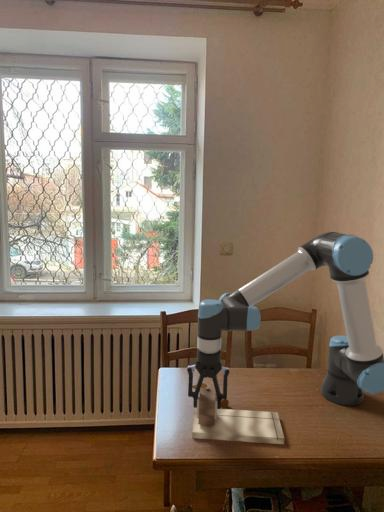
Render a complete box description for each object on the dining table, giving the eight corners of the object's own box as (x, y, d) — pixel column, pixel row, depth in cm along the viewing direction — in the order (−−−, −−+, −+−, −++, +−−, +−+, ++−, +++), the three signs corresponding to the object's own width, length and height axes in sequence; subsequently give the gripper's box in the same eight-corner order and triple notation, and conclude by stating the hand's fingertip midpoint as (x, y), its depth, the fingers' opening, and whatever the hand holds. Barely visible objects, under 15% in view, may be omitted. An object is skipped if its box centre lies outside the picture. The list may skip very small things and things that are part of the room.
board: (277, 417, 130) (277, 412, 130) (283, 444, 117) (284, 438, 116) (194, 412, 132) (195, 407, 132) (192, 438, 118) (192, 432, 118)
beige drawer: (214, 410, 128) (215, 387, 127) (214, 425, 120) (215, 399, 119) (199, 409, 129) (200, 386, 127) (198, 424, 121) (199, 398, 119)
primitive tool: (191, 387, 150) (191, 378, 150) (202, 383, 153) (202, 375, 153) (221, 411, 134) (222, 401, 134) (233, 406, 137) (234, 397, 137)
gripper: (237, 345, 124) (234, 411, 128) (181, 342, 125) (180, 408, 129) (238, 355, 116) (235, 425, 120) (179, 352, 118) (177, 421, 121)
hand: (206, 416), depth 124 cm, fingers closed on beige drawer, 5 cm apart
